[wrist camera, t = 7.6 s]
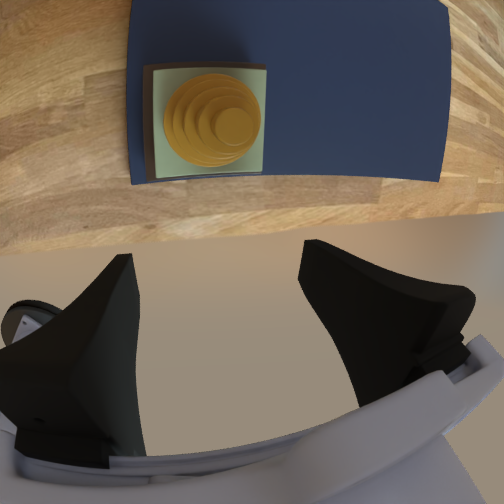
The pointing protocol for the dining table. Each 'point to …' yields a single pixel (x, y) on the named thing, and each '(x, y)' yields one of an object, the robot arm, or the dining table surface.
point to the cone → (212, 120)
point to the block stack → (155, 101)
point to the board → (314, 78)
